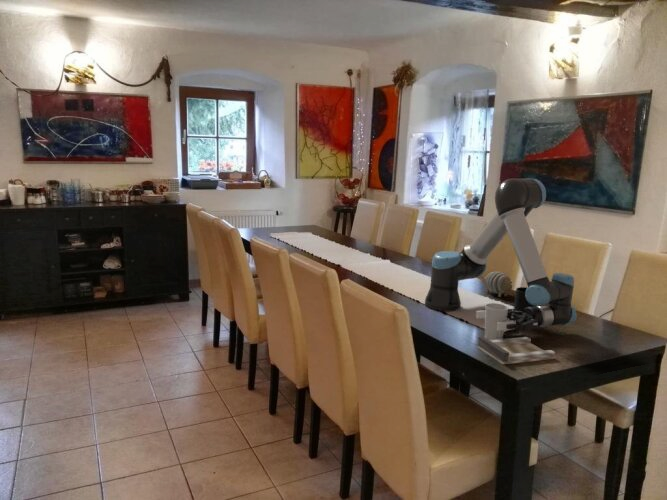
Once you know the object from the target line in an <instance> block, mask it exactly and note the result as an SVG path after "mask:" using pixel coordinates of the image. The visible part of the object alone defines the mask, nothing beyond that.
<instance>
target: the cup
mask: <svg viewBox="0 0 667 500" xmlns="http://www.w3.org/2000/svg"><path fill="white" fill-rule="evenodd" d="M484 309H485V318H484V336H483V337H485V338H487V339H488V340H498V339H504V333H505V330H500V331H498V330H497V322H507V314H508V309H510V308H509V306H507V305H505V304H502V303H494V302H492V303H490V302H489V303H485V305H484Z"/></svg>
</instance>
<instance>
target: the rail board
mask: <svg viewBox="0 0 667 500" xmlns="http://www.w3.org/2000/svg"><path fill="white" fill-rule="evenodd" d="M477 339H478V340H477V341H478V342H477V348H478V349H479V350H481V351H482V352H484V353H485V354H487V356H489V357H491V358H492V359H494V360H495V361H496V362H498V363H500V364H501V365H509V364H510V365H511V364H519V363H528V362H529V363H530V362H536V361H537V362H538V361H545V360H546V361H547V360H554V359H555V357H556V351H554V350H551V349H547V350H546V349H545V350H544V349H542V348H540V347H538V346H537V345H535V344H533V343H532V342H531V340H532V339H531V337H528V336H521V337H511V338H503V339H498V340H488V339H487V338H485V337H484V336H478V338H477Z"/></svg>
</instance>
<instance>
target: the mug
mask: <svg viewBox="0 0 667 500" xmlns="http://www.w3.org/2000/svg"><path fill="white" fill-rule="evenodd" d="M527 288H528V287H521V286H520V287H516V289H515V297H514V304H513V309H516V311H523V310H524V309H525V308H527V307H536V306H534V305H531V304H530V303H529V302H528V301H527V299H526V297H525V293H526V289H527Z"/></svg>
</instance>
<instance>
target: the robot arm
mask: <svg viewBox="0 0 667 500" xmlns="http://www.w3.org/2000/svg"><path fill="white" fill-rule="evenodd" d="M546 189H547V188H546V187H545V185H544V184H543V183H542V181H540V180H538V179H535V178H531V177H528V178H527V177H526V178H508V179H506V180H503V181H502V182H501V183H500V184H499V185H498V186H497V188H496V191H495V193H494V194H495V195H494V203H495V209H496V212H495V214H494V215H493V216H492V217H491V219H489V221H488V223H486V225H485V226H484V228H482V230H481V231H480V233H479V234H478V235H477V236H476V238H475V239H474V240H473V242H472V243H471V244H466V245H465V246H464V247H463V248H462V249H461V250H460V252H458V251H456V250H455V251H454V250H443V251H438V252H435V254H434V255H433V256H432V261H431V273H430V285H429V286H430V287H429V289H428V292H427V295H426V297H425V300H424V305H425V306H426V307H427V308H429V309H432V310H437V311H444V312H452V311H453V312H454V311H458V310H460V309H461V305H462V302H461V298H460V294H459V281H463V280H465V281H466V280H470V279H476V278H478V277H481V276H482V275H483V274H484V273H485V272H486V269H487V263H488V262H489V258H488V257H489V256H490V254H491V253H492V252H493V251H494V249H495V248H496V247H497V246H498V244H500V242H501V241H502V240H503V239H504V237H506V235H507V234H508V237H509V239H510V241H511V245H512V247H513V249H514V252H515V256H516V258H517V260H518V263H519V266H520V269H521V272H522V274H523V277H524V280H525V282H526V285H527V287H526V288H527V289H526V293H525V297H526V299H527V301H528V302H529V303H530V304H531V305H534V306H536V307H527V308H525V309H524V310H523V311H516V309H514V308H509V309H508V314H507V318H506V320H507V319H508V320H509V321H506V322H497V330H498V331H500V330H504V331H511V330H516V331H518V330H519V332H520V333H521V332H525V331H528V330H531V329H533V328H539V327H541V328H545V327H551V326H552V327H554V326H565V325H570V324H574V323H575V321H576V320H577V316H578V314H577V310H576V308H575V306H573V305H572V299H573V293H574V287H575V285H574V284H575V277H574V276H573V275H571V274H568V273H561V272H560V273H559V272H558V273H557V272H556V273H553V275H552V277H551V281H550V279H549V277H548V273H547V271H546V268H545V265H544V264H543V260H542V258H541V255H540V253H539V250H538V247H537V244H536V242H535V239H534V236H533V234H532V232H531V228H530V226H529V223H528V221H527V216H528V215H529V214H530V213H531V212H532V211H533V209H538V208H540V207H542V205H544V203H545V201H546V199H547V191H546ZM475 312H476V314H475V318H476V319H477V320H478V319H485V310H476V311H475Z"/></svg>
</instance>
